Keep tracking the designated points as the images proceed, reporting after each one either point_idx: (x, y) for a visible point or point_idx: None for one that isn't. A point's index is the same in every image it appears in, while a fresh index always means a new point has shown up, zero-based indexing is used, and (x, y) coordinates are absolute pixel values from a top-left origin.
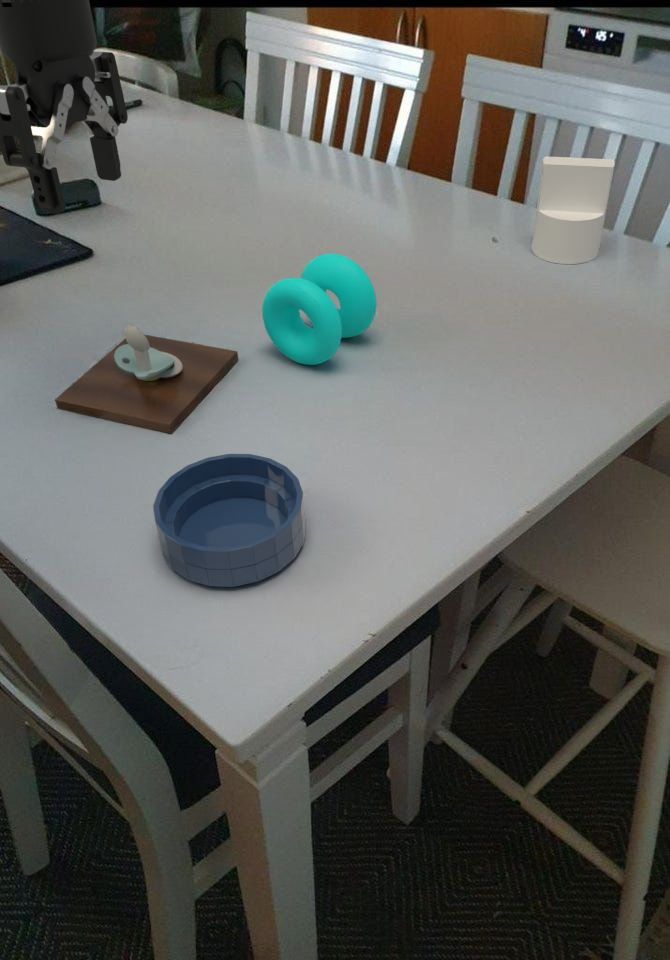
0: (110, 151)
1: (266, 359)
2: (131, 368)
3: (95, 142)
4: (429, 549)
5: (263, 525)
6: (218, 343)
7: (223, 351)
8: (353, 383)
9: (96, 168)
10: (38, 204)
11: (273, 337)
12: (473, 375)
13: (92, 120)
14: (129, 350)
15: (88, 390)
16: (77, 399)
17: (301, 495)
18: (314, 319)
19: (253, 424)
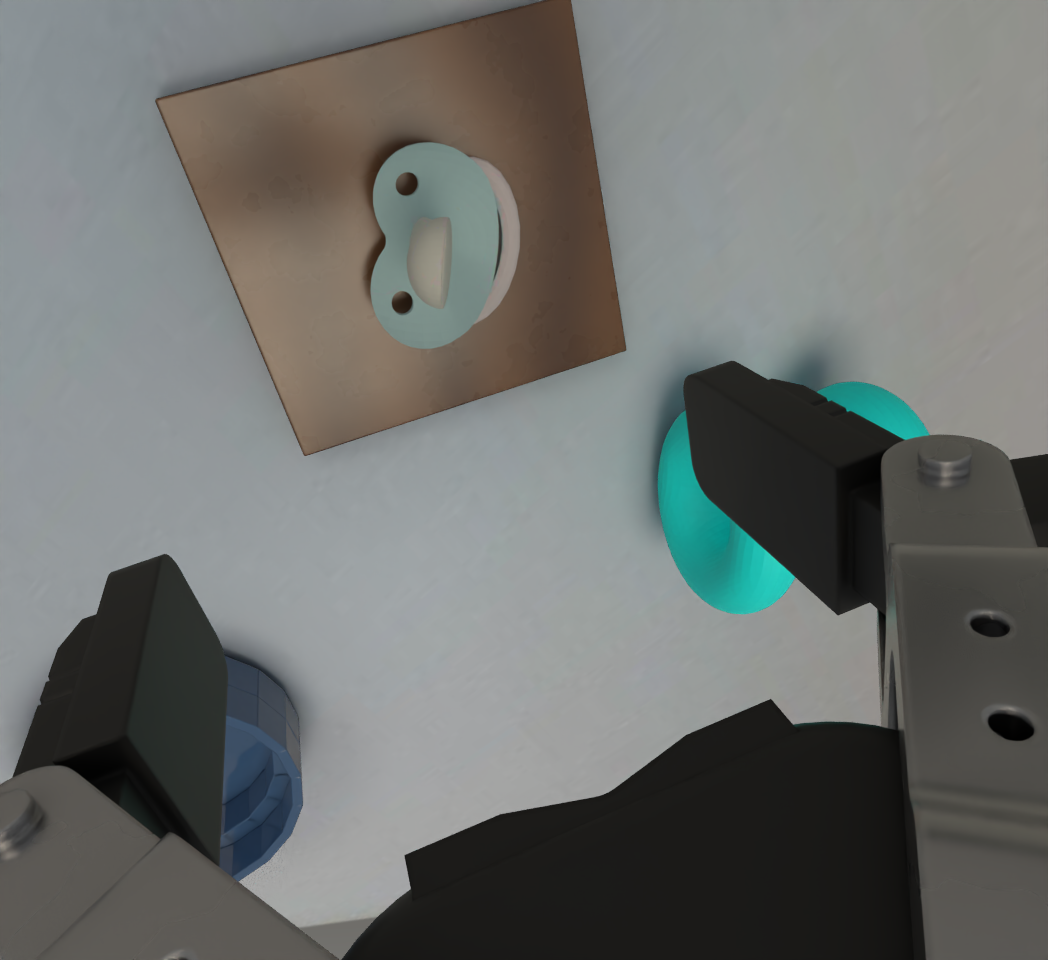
0: (790, 559)
1: (648, 390)
2: (394, 220)
3: (818, 494)
4: (359, 888)
5: (224, 759)
6: (658, 240)
7: (609, 324)
8: (649, 578)
9: (711, 392)
10: (74, 634)
11: (679, 435)
12: (753, 689)
13: (884, 689)
14: (444, 163)
15: (259, 156)
16: (207, 166)
17: (261, 864)
18: (707, 586)
19: (439, 541)
